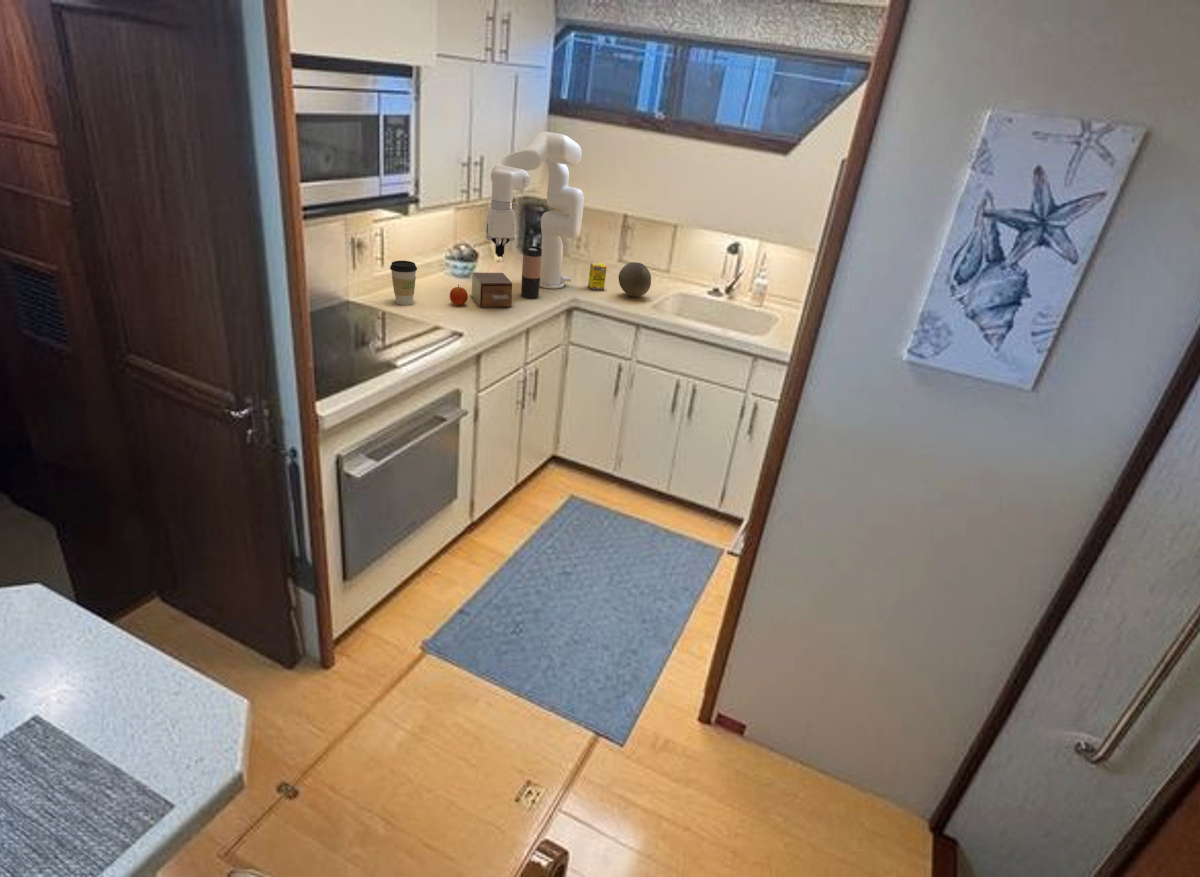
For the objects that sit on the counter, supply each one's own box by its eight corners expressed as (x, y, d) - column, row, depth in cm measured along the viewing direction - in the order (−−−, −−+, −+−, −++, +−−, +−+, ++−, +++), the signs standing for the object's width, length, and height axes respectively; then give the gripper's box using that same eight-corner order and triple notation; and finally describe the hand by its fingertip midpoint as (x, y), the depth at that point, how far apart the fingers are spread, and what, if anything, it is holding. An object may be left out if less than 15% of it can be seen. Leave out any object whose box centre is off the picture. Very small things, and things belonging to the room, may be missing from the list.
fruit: (471, 304, 271) (471, 285, 267) (460, 309, 265) (460, 288, 261) (456, 301, 273) (456, 281, 269) (445, 304, 268) (445, 284, 264)
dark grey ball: (628, 290, 314) (632, 257, 306) (654, 298, 307) (659, 264, 300) (610, 295, 303) (614, 261, 296) (637, 304, 296) (642, 269, 289)
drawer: (514, 309, 268) (515, 290, 265) (485, 310, 264) (486, 290, 260) (502, 295, 283) (503, 276, 279) (474, 295, 279) (475, 276, 275)
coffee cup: (418, 306, 262) (417, 267, 255) (391, 306, 259) (390, 266, 252) (416, 298, 270) (416, 260, 263) (390, 298, 267) (389, 259, 260)
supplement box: (591, 290, 307) (594, 266, 302) (587, 286, 312) (590, 262, 306) (604, 290, 309) (607, 266, 303) (600, 286, 313) (602, 262, 308)
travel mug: (535, 300, 285) (539, 251, 276) (518, 297, 286) (520, 248, 277) (541, 295, 292) (544, 247, 283) (523, 292, 293) (526, 245, 284)
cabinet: (511, 306, 274) (512, 283, 270) (480, 307, 269) (480, 283, 265) (501, 295, 286) (502, 272, 281) (471, 295, 281) (472, 272, 277)
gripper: (518, 204, 257) (516, 254, 265) (479, 202, 251) (477, 253, 260) (524, 208, 251) (521, 259, 259) (484, 206, 245) (482, 258, 254)
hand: (499, 255), depth 259 cm, fingers closed
